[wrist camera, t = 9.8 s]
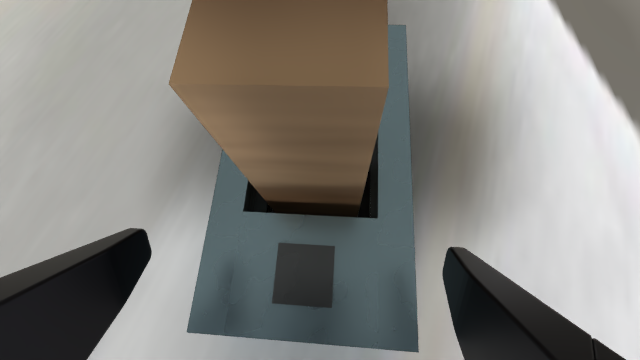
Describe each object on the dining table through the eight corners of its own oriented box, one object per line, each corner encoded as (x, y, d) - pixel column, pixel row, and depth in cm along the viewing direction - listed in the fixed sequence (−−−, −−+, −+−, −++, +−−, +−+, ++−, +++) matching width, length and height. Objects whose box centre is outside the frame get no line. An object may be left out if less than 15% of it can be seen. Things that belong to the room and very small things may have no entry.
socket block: (398, 337, 15) (419, 353, 11) (223, 322, 16) (184, 332, 12) (393, 73, 20) (406, 22, 17) (263, 71, 21) (246, 22, 17)
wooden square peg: (356, 220, 17) (389, 86, 6) (278, 216, 17) (168, 83, 6) (358, 149, 19) (386, -66, 7) (286, 147, 19) (209, -61, 8)
